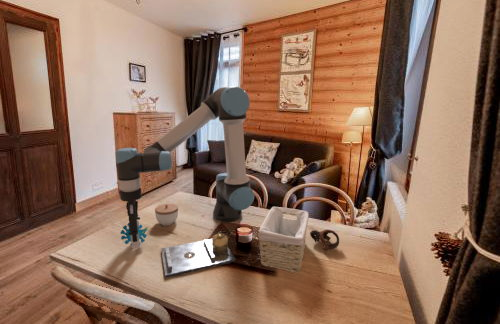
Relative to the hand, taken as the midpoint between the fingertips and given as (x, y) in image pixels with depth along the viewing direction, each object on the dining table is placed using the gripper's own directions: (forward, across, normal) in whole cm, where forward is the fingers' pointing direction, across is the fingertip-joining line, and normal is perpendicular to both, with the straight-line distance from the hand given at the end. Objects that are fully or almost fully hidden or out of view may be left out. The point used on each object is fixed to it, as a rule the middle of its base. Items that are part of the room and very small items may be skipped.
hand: (136, 241), depth 100 cm
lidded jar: (+3, -18, +14) cm, 23 cm away
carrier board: (+3, +15, +22) cm, 26 cm away
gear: (+1, 0, 0) cm, 1 cm away
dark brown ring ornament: (+4, +26, +73) cm, 77 cm away
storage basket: (+4, +25, +54) cm, 60 cm away
